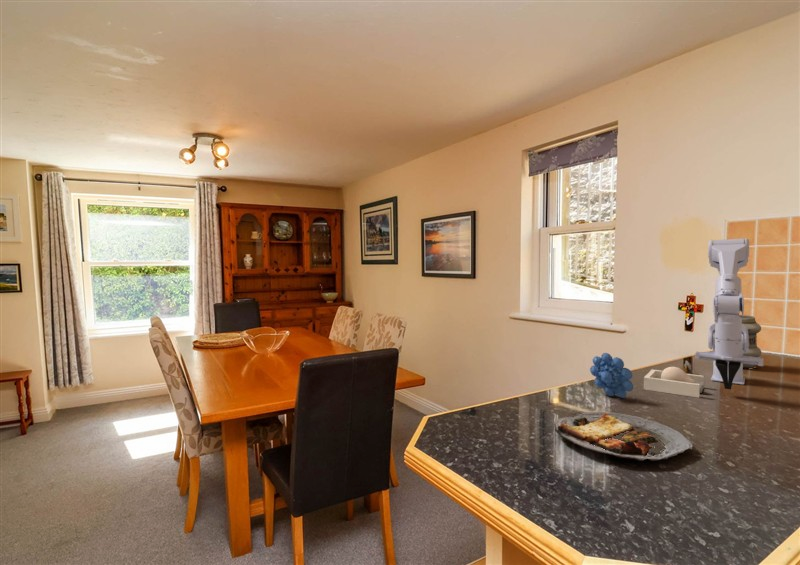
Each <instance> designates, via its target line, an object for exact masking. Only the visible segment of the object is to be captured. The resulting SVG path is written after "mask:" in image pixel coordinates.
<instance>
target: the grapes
mask: <svg viewBox="0 0 800 565" xmlns="http://www.w3.org/2000/svg"><path fill="white" fill-rule="evenodd" d="M592 363H593V365H591V366H590V368H589V371H590V374H591V375H592V376H593V377H595V378H594V380H593V381H594V384H595V385H596V386H597V387H598V388H600V389H603V390H604V393H605V394H606V395H607V396H609V397H611V396H612V397H614V396H615V395H616V396H617V397H619V398H621V399H623V398H626V397H627V396H628V394H627V393H628V392H632V391H633V390H634V384H633V382H632V381H631V379H633V372H632V371H631V370H630V368H627V367H625V363H624V361H623V359H622V358H620V357H613V356H612V355H611V354H610V353H607V352H603V353H602V354H601V357H600V356H598V355H597V356H596V355H595V356H593V358H592Z"/></svg>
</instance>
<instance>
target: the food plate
mask: <svg viewBox="0 0 800 565" xmlns="http://www.w3.org/2000/svg"><path fill="white" fill-rule="evenodd" d="M553 427H554V431H555V432H556V433H557V434H558V435H559V437H561V438H564V439H565V440H567V441H569V442H571V443H573V444H575V445H577V446H579V447H580V448H582V449H586V450H589V451H591V452H592V451H593V452H595V453H599V454H606V455H610V456H615V457H617V458H620V459H628V460H633V462H636V461H640V462H642V461H644V460H647V459H648V460H649V461H651V462H654V461H659V460H668V459H669V458H672V457H674V456H677V455H678V454H682V453H684V452H685V451H686V450H689V449H690V450H693V446H694V445H693V443H692V442H691V440H689V439H688V438H687V437H686V436H684V434H682V433H681V432H679V431H678V430H676V429H674V428H672V427H670V426H667V424H663V423H661V422H658V421H655V420H650V419H646V418H644V417H640V416H636V415H630V414H624V413H619V412H611V411H610V412H609V411H577V412H572V413H570V414H567V415H564V416H561V417H560V418H557V419H555V421H554V423H553ZM631 428H635V429H637V431H636V430H631V431H630V429H631ZM638 430H640V431H638ZM626 431H630V432H628V433H627V434H625V435H624V436H623V437H622V441H621V440H618V439H614V438H613V436H616V435H619V434H620V433H624V432H626ZM650 434H652V435H653V436H651V435H650ZM654 436H655V437H657V438H658V439H660V440H661V441H662V442H663V443H664V444H665V446H664V447H665V448H666V449H663V450H664V451H663V450H662V451H663V452H662V453H661V454H657V455H654V456H650V457H649V456H646V455H647V453H648V452H650V450H651V449H654V448H653V446H652V445H651V444H648V443H649V442H646V441H650V442H652V441H651V440H656V439H657V438H655V437H654ZM607 438H608V441H607V440H605V439H607ZM609 438H612V440H611V439H609ZM658 439H657V440H658ZM662 442H661V443H662ZM663 443H662V444H663ZM591 444H592V445H591ZM594 445H595V446H594ZM601 448H603V449H605V450H603V449H601Z"/></svg>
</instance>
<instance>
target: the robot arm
mask: <svg viewBox="0 0 800 565" xmlns="http://www.w3.org/2000/svg"><path fill="white" fill-rule="evenodd" d="M707 247H708V248H707V249H708V254H707V255H708V261H709V262H708V263H709V264H710V267H712V268H714V269H715V268H716V269H717V271H718V275H719V276H718V277H716V279H715V296H714V297H713V299H712V300H713V301H712V302H713V303H712V308H713V309H712V312H713V316H714V322H712V323H711V324H710V325H709V327H708V332H707V333H708V335H707V340H708V344H707V346H708V348H709V350H712V351H710V352H709V351H707V352H706V351H695V352H694V356H695V358H694V359H695V360H704V361H712V362H713V365H712V366H713V367H712V368H713V369H712V370H713V371H712V375H711V378H710V380H711V381H714V382H721V383H723V387H724V389H725V390H732V385H733V384H736V385H745V381H746V378H745V376H743V375H744V369H743V364H751V365H754V366H757V367H764V357H760V356H759V357H752V356H745V355H743V351H744V352H747V351H748V349H749V335H748V328H747V327H746V326H745V325H743V324H742V317H743V315H745V299H744V295H743V292H742V280H741V277H739V276H738V273H739V270H740V269H741V268H744V267H746V266H748V263H749V257H750V239H748V238H747V237H744V238H728V239H710V240H709V241H708V246H707ZM740 313H741V315H742V317H741V316H739V315H740Z"/></svg>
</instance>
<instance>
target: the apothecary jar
mask: <svg viewBox="0 0 800 565" xmlns="http://www.w3.org/2000/svg"><path fill="white" fill-rule="evenodd" d="M739 316H741V317H742V314H739ZM742 324H743V325H745V326H746V327H747V328H748V335H749V349H748V351H747V352H744V351H743V355H745V356H752V357H760V356H761V355H762V349H761V348H759V346H758V344H757V341H758V340H757V339H758V338H757V334H759V333H760V332H761V330H762V327H761V325H760V324H759V323H758V322H757V320H756V317H755V316H752V315H746V314H743V317H742ZM755 366H756V365H751V364H743V368H754V367H755Z"/></svg>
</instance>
